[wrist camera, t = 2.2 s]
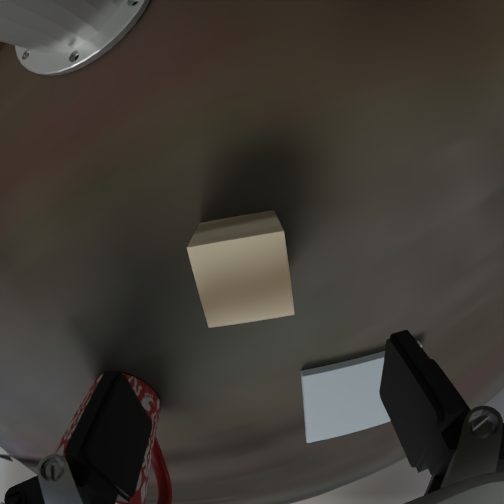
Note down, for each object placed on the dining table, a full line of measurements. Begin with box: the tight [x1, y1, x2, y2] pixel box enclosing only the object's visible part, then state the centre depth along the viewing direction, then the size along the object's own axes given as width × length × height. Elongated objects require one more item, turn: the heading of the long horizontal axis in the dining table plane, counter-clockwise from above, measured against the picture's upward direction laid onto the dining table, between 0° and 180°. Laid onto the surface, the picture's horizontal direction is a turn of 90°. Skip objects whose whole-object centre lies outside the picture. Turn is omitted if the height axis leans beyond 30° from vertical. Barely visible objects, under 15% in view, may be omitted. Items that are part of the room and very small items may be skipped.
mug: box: [53, 373, 172, 504], centre depth 19 cm, size 13×9×14 cm
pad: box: [301, 340, 422, 443], centre depth 26 cm, size 12×12×1 cm
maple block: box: [187, 210, 294, 328], centre depth 18 cm, size 5×5×5 cm
